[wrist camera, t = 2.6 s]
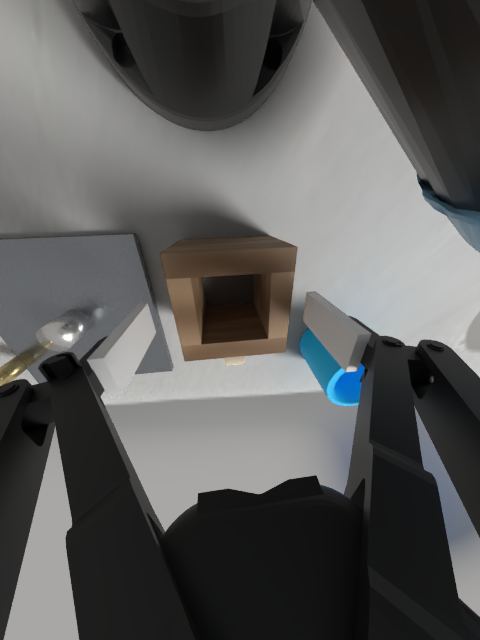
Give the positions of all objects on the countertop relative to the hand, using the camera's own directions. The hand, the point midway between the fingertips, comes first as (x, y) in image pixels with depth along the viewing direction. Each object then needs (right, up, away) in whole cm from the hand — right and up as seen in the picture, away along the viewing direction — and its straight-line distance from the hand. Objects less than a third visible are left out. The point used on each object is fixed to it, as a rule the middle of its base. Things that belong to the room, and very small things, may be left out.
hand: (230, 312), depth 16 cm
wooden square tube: (0, +2, +8) cm, 8 cm away
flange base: (-18, 0, +7) cm, 20 cm away
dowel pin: (-26, -5, +9) cm, 28 cm away
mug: (+16, -4, +13) cm, 21 cm away
